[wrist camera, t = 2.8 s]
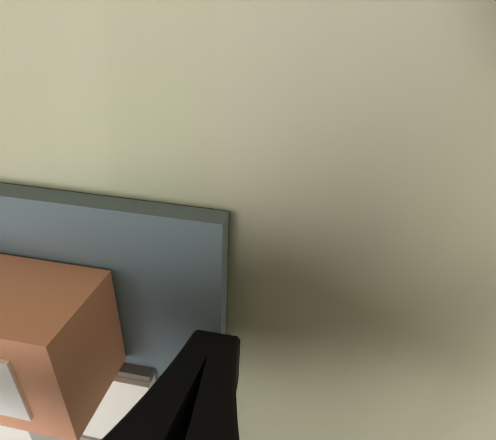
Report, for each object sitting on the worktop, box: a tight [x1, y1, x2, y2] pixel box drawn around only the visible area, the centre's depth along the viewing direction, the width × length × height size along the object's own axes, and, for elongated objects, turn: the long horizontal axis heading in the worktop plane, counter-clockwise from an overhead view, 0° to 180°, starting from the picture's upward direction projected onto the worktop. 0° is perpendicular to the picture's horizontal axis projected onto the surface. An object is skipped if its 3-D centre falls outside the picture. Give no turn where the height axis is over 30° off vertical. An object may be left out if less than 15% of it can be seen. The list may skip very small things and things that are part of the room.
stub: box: [0, 254, 126, 440], centre depth 11 cm, size 4×6×3 cm, turn 87°
